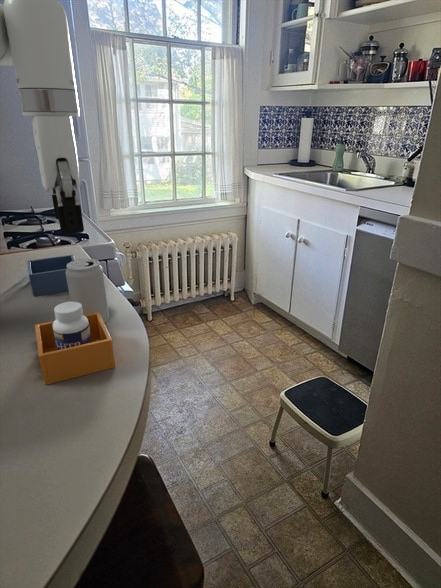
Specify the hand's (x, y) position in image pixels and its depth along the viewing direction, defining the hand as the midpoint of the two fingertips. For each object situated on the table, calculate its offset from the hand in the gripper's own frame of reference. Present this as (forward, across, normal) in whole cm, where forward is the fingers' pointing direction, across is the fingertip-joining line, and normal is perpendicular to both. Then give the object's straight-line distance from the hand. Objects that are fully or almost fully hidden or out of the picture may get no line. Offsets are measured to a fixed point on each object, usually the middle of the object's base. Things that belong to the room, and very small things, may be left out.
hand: (69, 224), depth 62 cm
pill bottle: (+20, +7, -3) cm, 21 cm away
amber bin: (+20, +7, -2) cm, 21 cm away
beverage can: (+20, -4, +2) cm, 21 cm away
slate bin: (+20, -27, -3) cm, 34 cm away
